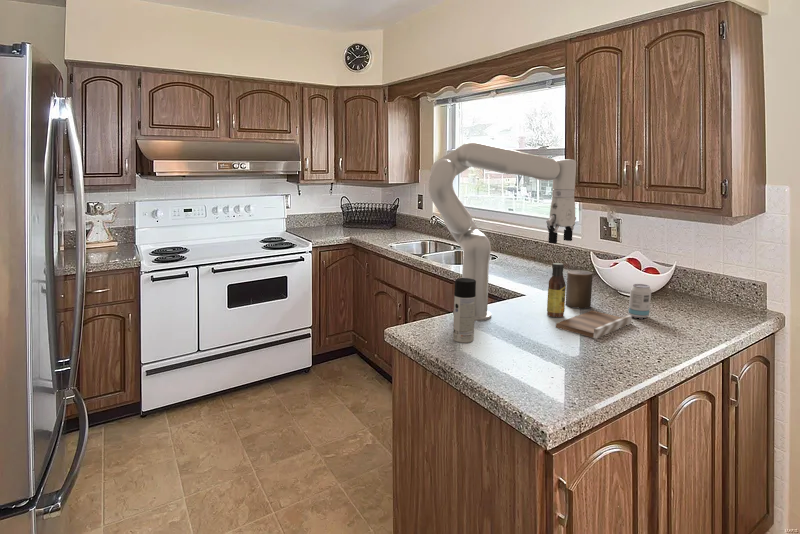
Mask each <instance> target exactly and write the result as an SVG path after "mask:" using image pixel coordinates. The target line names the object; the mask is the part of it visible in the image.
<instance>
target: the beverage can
mask: <svg viewBox="0 0 800 534" xmlns="http://www.w3.org/2000/svg"><path fill="white" fill-rule="evenodd" d="M650 287H651V286H650V285H648V284H643V283H634V284H633V285H632V287H631V288H630V293H629V301H628V303H629V304H628V312H627V313H628V315H631V316H632V318H633V317H634V319H636V318H639V320H644V319H643V318H645V319H646V318H648V317H649V316H650V310H651V309H650V308H651V301H652V300H651V298H652V289H651V288H650Z"/></svg>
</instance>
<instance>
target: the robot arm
mask: <svg viewBox="0 0 800 534" xmlns="http://www.w3.org/2000/svg"><path fill="white" fill-rule="evenodd" d="M471 167H472V168H476V169H481V170H485V171H491V172H495V173H499V174H504V175H505V174H506V175H517V176H523V177H528V178H533V179H535V180H538V181H547V182H550V181H552V190H551V191H552V192H551V203H550V211H549V217H548V219H547V220H546V223H545V224H546V228H547V232H548V240H547V242H548V244H554V245H555V244H557V243H558V234H559V233H558V232H557V231H558V229H559V227H560V228H565V229H563V241H567V242H572V241H573V232H574V231H573V230H574V228H575V224H576V220H577V217H576V200H575V188H576V176H577V175H576V174H577V161H576V160H575V159H573V158H572V159H569V158H567V159H566V158H564V159H554V158H550V157H545V156H542V155H537V154H533V153H532V154H531V153H527V152H523V151H518V150H514V149H510V148H504V147H499V146H495V145H490V144H486V143H481V142H477V141H470V142H466V143H463V144H462V145H460V146H459V147H457V148H456V149H454V150H453V151H450V152H448V154H446V155H444V156H442V157H440V158H439V159H437V160H435V162H434V163H432V164H431V167H430V176H429V180H428V193H429V196H430V199H431V201H432V203H433V204H434V206H435V208H436V210H437V211H438V212H439V214H440V215H441V217H442V218H443V222H444V225H445V227H446V228H447V230H448V231H449V232H450V234H451V236H452V237H453V238H454V240H455V241H456V243H457V244H458V245H459V247H460V249H461V250H462V251H463V258H462V269H461V270H462V272H461V273H462V274H461V276H462V277H461V278H470V279H474V280H476V296H475V321H474V322H483V321H487V319H488V320H489V319H491V318H492V313H491V312H490V311H489V310H488V300H489V299H488V298H489V295H488V294H489V278H490V277H489V268H490V259H491V253H492V247H491V245H492V244H491V242H490V239H489V238H488V236H486V235H485V234H484V233H483V232H482V231H480V229H479V227H478V226H477V225H476V223H475V222H474V220H473V216H472V214H471V213H470V211H469V210H468V209H467V208H466V207H465V205H464V204H463V202H462V201H461V199H460V198H459V196H458V195H457V193H456V191H455V190H454V186H453V185H454V180H455V178H456V177H457V176H458V175H460V174H461V173H464V172H465V171H467V170H468V169H470V168H471ZM452 314H453V315H454V310H452Z"/></svg>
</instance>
